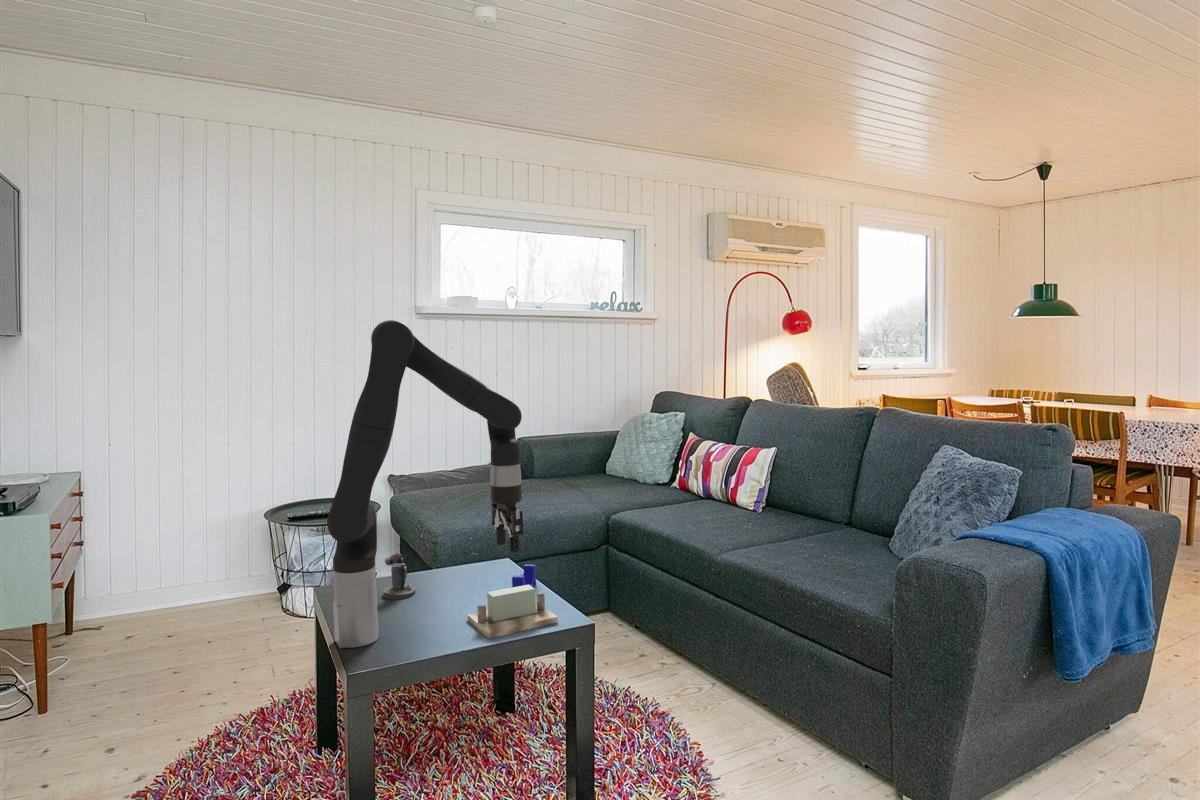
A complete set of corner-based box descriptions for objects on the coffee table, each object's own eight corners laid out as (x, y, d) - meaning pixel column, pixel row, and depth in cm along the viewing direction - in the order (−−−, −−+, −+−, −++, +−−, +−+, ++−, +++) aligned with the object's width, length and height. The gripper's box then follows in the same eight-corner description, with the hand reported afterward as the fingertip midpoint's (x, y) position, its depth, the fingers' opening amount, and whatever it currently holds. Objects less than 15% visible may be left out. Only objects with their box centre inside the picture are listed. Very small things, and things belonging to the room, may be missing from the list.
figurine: (396, 601, 194) (394, 557, 194) (377, 595, 199) (375, 553, 199) (421, 592, 201) (420, 550, 200) (402, 587, 206) (400, 546, 205)
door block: (529, 607, 181) (528, 584, 181) (535, 612, 178) (535, 588, 178) (487, 616, 176) (487, 592, 176) (493, 621, 173) (492, 596, 172)
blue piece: (521, 584, 207) (520, 564, 206) (536, 585, 206) (535, 564, 205) (507, 598, 195) (506, 576, 195) (523, 599, 194) (522, 577, 194)
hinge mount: (488, 638, 167) (487, 615, 166) (467, 620, 179) (466, 598, 178) (557, 622, 176) (557, 600, 175) (533, 606, 188) (533, 585, 187)
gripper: (532, 485, 171) (533, 552, 172) (508, 477, 184) (510, 539, 185) (502, 488, 167) (504, 557, 168) (480, 480, 180) (482, 544, 181)
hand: (507, 548), depth 176 cm, fingers open, 8 cm apart
